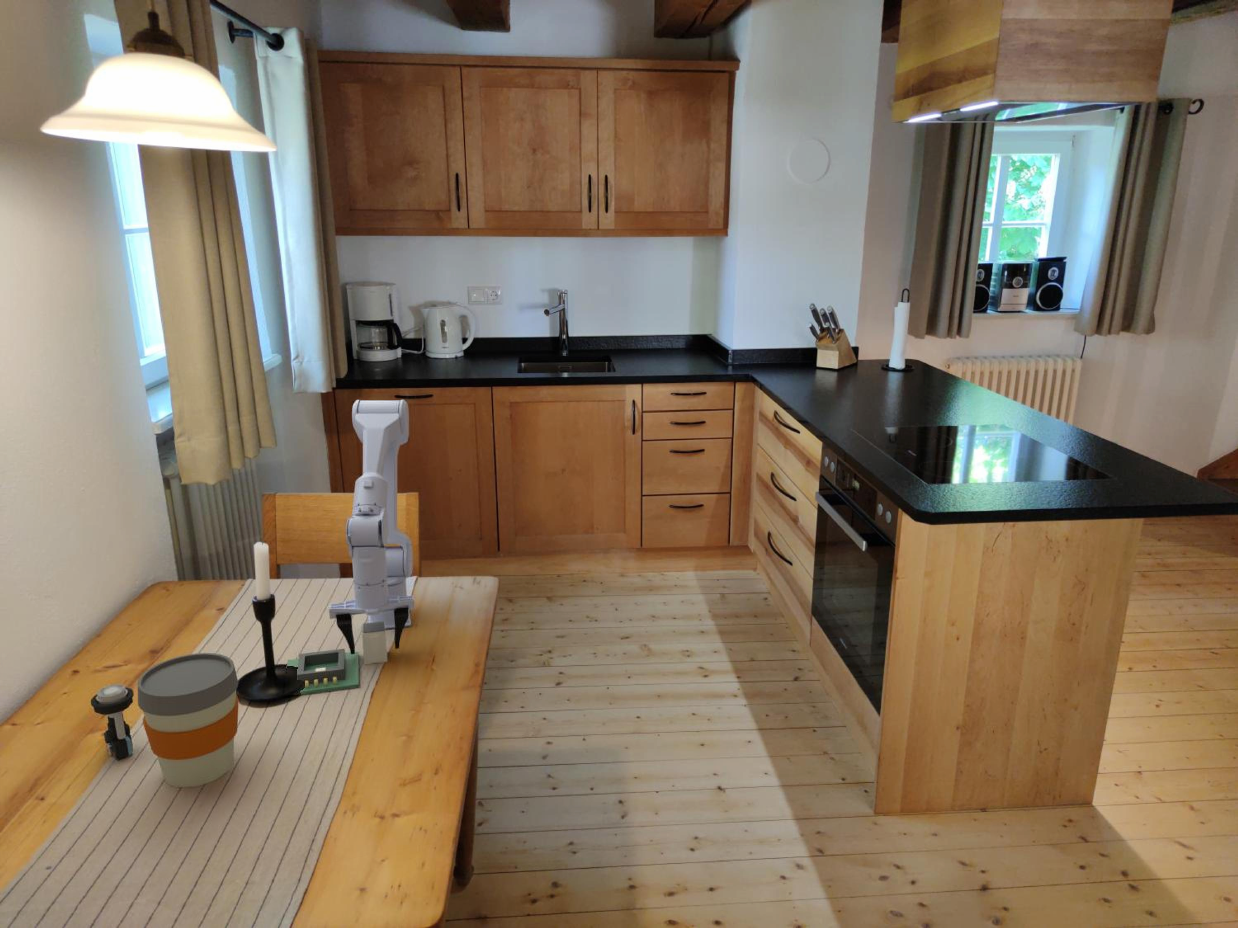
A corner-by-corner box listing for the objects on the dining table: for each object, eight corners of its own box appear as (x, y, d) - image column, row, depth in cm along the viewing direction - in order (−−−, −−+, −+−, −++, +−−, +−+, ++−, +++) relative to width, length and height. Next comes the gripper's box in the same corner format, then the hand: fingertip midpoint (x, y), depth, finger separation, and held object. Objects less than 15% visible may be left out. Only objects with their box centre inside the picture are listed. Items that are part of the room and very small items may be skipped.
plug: (364, 654, 153) (361, 623, 152) (386, 651, 155) (384, 620, 153) (364, 665, 149) (362, 633, 148) (387, 662, 151) (385, 630, 149)
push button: (91, 747, 124) (81, 687, 122) (130, 732, 128) (121, 674, 125) (107, 766, 120) (96, 704, 117) (147, 750, 124) (138, 690, 121)
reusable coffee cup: (197, 804, 112) (184, 705, 108) (128, 782, 116) (113, 686, 113) (266, 753, 124) (256, 661, 120) (200, 734, 128) (188, 645, 124)
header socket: (288, 662, 150) (286, 648, 149) (358, 654, 153) (357, 640, 152) (283, 697, 139) (281, 681, 138) (358, 687, 142) (357, 672, 141)
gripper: (326, 592, 142) (332, 664, 146) (414, 583, 147) (417, 654, 150) (327, 576, 149) (333, 646, 152) (411, 568, 153) (414, 636, 157)
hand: (375, 648), depth 152 cm, fingers open, 7 cm apart
